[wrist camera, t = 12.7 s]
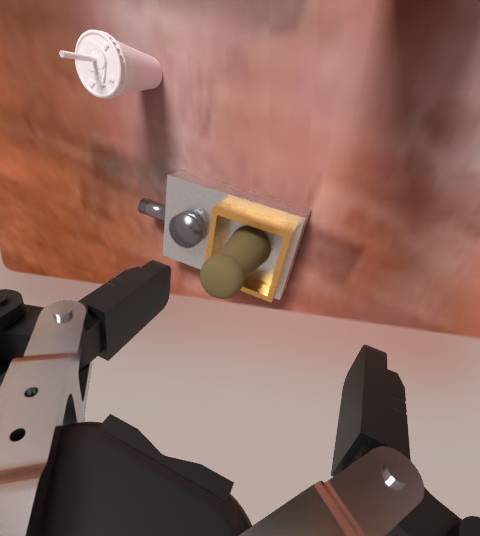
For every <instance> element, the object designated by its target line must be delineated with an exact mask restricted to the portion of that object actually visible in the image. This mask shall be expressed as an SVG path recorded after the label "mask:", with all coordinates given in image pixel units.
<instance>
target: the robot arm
mask: <svg viewBox="0 0 480 536" xmlns="http://www.w3.org/2000/svg"><path fill="white" fill-rule="evenodd" d="M170 277H171V268H170V267H169V266H167V265H165V264H162V263H160V262H157V261H155V260H152V261H150V262H148V263H147V264H145V265H144V266H142V267H141V268H140V267H135V268H132V269H128V270H125V271H124V272H122V273H121V274H119V275H118V276H116V278H113V279H111V280H110V281H108V283H105V284H104V285H102V286H101V287H100V288H98V289H96V290H95V291H93V292H92V293H90V294H89V295H87V296H85V297H84V298H83V299H81V300H79V301H78V302H77V301H72V300H64V301H58V302H55V303H52V304H50V305H48V306H47V307H45V308H44V307H37V306H31V305H25V304H24V303H23V299H22V295H21V294H20V293H19V292H17V291H14V290H7V289H3V290H0V536H480V518H479V517H475V516H470V517H466V518H464V519H463V520H462V519H460V518H459V517H458V516H457V515H455V514H454V513H453V512H452V511H450V510H449V509H448V508H447V507H445V506H444V505H443V504H442V503H440V502H439V501H438V500H437V499H435V498H434V497H433V496H432V495H431V494H430V493H429V492H428V491H427V490H426V489H425V487H424V484H423V480H422V478H421V475H420V474H419V472H418V470H417V469H416V467H415V466H414V465H413V464H412V462H411V460H410V449H409V436H408V424H407V415H406V412H407V411H406V404H405V401H406V398H405V387H404V385H403V384H402V381H401V379H400V377H399V376H398V374H397V373H395V372H393V371H390V370H388V369H387V354H386V353H385V352H382V351H380V350H377V349H375V348H372V347H370V346H367V345H363V347H362V348H361V350H360V352H359V354H358V355H357V357H356V359H355V361H354V363H353V365H352V366H351V368H350V370H349V372H348V374H347V376H346V379H345V382H344V386H343V391H342V399H341V406H340V413H339V421H338V428H337V436H336V442H335V450H334V457H333V465H332V471H331V476H333V478H331V479H330V480H328V481H327V482H325V483H323V482H322V481H320V482H317V483H316V484H314V485H312V486H311V487H309V488H308V489H306V490H305V491H303V492H302V493H300V494H299V495H297V496H296V497H294V498H293V499H291V500H290V501H288V502H287V503H286V504H284V505H283V506H281V507H280V508H278V509H277V510H275V511H274V512H272V513H271V514H269V515H268V516H266V517H265V518H264V519H262V520H261V521H259V522H258V523H256V524H255V525H253V526H252V524H251V522H250V520H249V518H248V516H247V515H246V513H245V511H244V510H243V508H242V507H241V505H240V504H239V503H238V502H237V500H236V499H235V498H234V497H233V496H232V495H231V494H230V492H231V489H232V486H233V483H234V482H232V481H230V480H228V479H226V478H225V477H223V476H221V475H219V474H217V473H216V472H214V471H212V470H210V469H208V468H206V467H205V466H203V465H201V464H197V463H193V462H189V461H184V460H180V459H176V458H171V457H167V456H164V455H162V454H161V453H160V452H159V451H158V450H157V449H156V448H155V447H154V446H153V445H152V443H151V442H150V441H149V440H148V439H147V438H146V437H145V436H144V435H143V434H142V433H141V432H140V431H139V430H138V429H137V428H135V427H133V426H131V425H129V424H128V423H126V422H124V421H122V420H120V419H118V418H117V417H115V416H113V415H111V414H110V415H109V416H108V417H107V418H106V419H105V421H104V422H103V423H99V422H85V408H86V401H87V395H88V388H89V382H90V375H91V369H92V360H93V359H94V358H96V356H100V357H102V358H104V359H106V360H110V359H111V358H112V357H113V356H114V355H115V354H116V353H117V352H118V351H119V350H120V349H121V348H122V347H123V346H124V345H125V344H127V342H129V341H130V340H131V339H132V338H133V337H134V336H135V335H136V334H137V333H138V332H139V331H140V330H141V329H142V328H143V327H145V326H146V325H147V323H149V322H150V321H151V320H152V319H153V318H154V317H155V316H156V315H157V314H158V313H159V312H160V311H161V310H162V309H163V308H164V307H165V306H166V303H167V302H168V299H169V291H170Z"/></svg>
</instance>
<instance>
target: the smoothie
mask: <svg viewBox="0 0 480 536" xmlns="http://www.w3.org/2000/svg"><path fill="white" fill-rule="evenodd" d="M59 54H60V56H61V57H64V58H70V59H75V64H76V69H77V72H78V75H79V78H80V80H81V82H82V83H83V85H84V86H85V88H86V89H87V90H88V91H89V92H90V93H91V94H93V95H95V96H97V97H99V98H105V99H112V98H114V97H117V96H118V95H119V94H123V93H129V92H135V91H142V90H148V89H154V88H156V87H158V86H159V85H160V83H161V80H162V68H161V66H160V64H159V62H158V61H157V60H156V59H155V58H153V57H151V56H149V55H147V54H145V53H143V52H140V51H138V50H136V49H134V48H132V47H129V46H127V45H125V44H123V43H121V42H119V41H116V40H115V39H114V38H113V37H112V36H111V35H109V34H108V33H106V32H103V31H97V30H88V31H86V32H84V33H83V34H82V35H81V36H80V38H79V39H78V42H77V44H76V49H75V53H73V52H67V51H62V50H61V51H60V52H59Z"/></svg>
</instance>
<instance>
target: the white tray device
mask: <svg viewBox="0 0 480 536" xmlns="http://www.w3.org/2000/svg"><path fill="white" fill-rule="evenodd" d="M138 210H139V212H140V213H143V214H146V215H148V216H151V217H154V218H157V219H160V220H162V221H165V225H164V242H163V255H164V256H166V257H169V258H172V259H174V260H177V261H179V262H182V263H185V264H187V265H190V266H192V267H195V268H198V269H200V270H201V268H202V266H203V264H204V262H205V261H206V260H208V259H209V258H210V257H211V256H214V255H218V254H219V253H220V251H221V250H222V249H223V247H224V246H225V244H226V243H227V241H228V240H229V239H230V237H231V236H232V234H233V233H234V231H236V230H237V229H238V228H240V227H243V226H252V227H255V228H258V229H260V230H261V231H263V232H264V233H265V235H266V236H267V237H268V239H269V241H270V244H271V253H270V256H269V258H268V259H267V261H266V262H265V263H263V264H262V265H261V266H260V267H258V268H257V269H256V270H255V271H254V272H252V273H251V274H250V275H249V276H247V277H246V278H245V280H244V284H243V287H242V288H241V290H240V291H242V292H245V293H247V294H250V295H253V296H255V297H258V298H260V299H263V300H265V301H268V302H271V303H272V301H273V299H274V298H275V299H278V300H280V299H281V297H282V295H283V293H284V291H285V289H286V287H287V284H288V281H289V278H290V275H291V272H292V268H293V265H294V262H295V259H296V256H297V253H298V250H299V247H300V243H301V240H302V237H303V234H304V231H305V228H306V225H307V221H308V218H309V215H310V212H311V209H309V208H305V207H302V206H299V205H295V204H292V203H289V202H286V201H282V200H279V199H276V198H272V197H269V196H266V195H263V194H259V193H256V192H253V191H250V190H246V189H243V188H240V187H236V186H233V185H230V184H227V183H223V182H220V181H217V180H213V179H210V178H207V177H204V176H200V175H197V174H194V173H191V172H187V171H184V170H181V171H178V172H175V173H172V174H169V175H167V189H166V205H164V204H161V203H158V202H155V201H152V200H149V199H146V198H143V199H142V200H141V201H140V202H139V206H138Z"/></svg>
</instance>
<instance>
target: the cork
mask: <svg viewBox="0 0 480 536" xmlns="http://www.w3.org/2000/svg"><path fill="white" fill-rule="evenodd" d="M270 253H271V244H270V241H269V239H268V237H267V236H266V235H265V233H264V232H263V231H261V230H260V229H258V228H255V227H252V226H243V227H240V228H238V229H237V230H236V231H234V233H233V234H232V236H231V237H230V239H229V240H228V241H227V243H226V244H225V246H224V247H223V249H222V250H221V251H220V253H219V254H218V255H214V256H211V257H210V258H209V259H208V260H206V261H205V262H204V264H203V266H202V268H201V270H200V280H201V284H202V286H203V288H204V289H205V290H206V292H207V293H209V294H210V295H211V296H213V297H216V298H220V299H227V298H231V297H233V296H234V295H236V294H238V293H239V291H240V290H241V288H242V287H243V284H244V280H245V278H246V277H247V276H249V275H250V274H251V273H252V272H254V271H255V270H256V269H257V268H258V267H260V266H261V265H262V264H263V263H265V262H266V261H267V259H268V258H269V256H270Z"/></svg>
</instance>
